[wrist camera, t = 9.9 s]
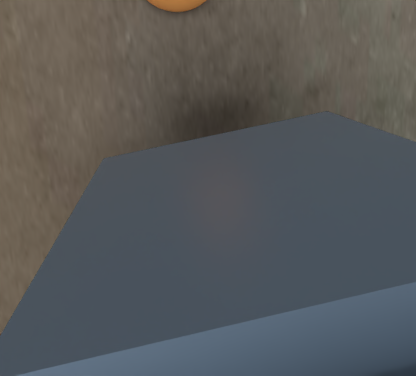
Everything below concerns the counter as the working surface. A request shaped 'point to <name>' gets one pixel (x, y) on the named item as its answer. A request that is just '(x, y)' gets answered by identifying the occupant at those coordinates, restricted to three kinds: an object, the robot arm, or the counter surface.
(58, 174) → the counter surface
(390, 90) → the counter surface
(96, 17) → the counter surface
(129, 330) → the slate blue square block
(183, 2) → the ball
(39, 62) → the counter surface
